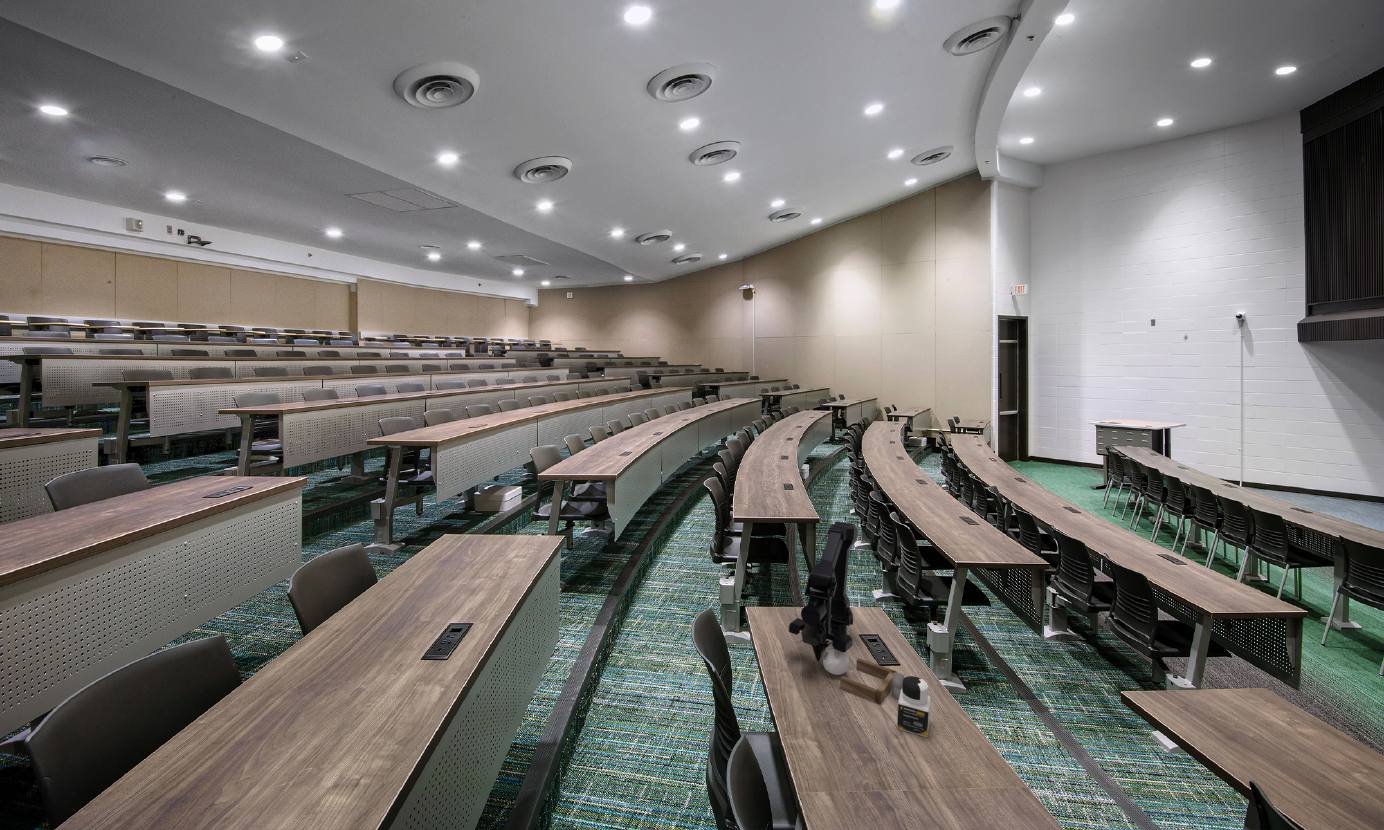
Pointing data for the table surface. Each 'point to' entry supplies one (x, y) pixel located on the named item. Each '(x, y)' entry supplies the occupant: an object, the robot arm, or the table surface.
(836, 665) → the white carved ball
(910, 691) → the medicine bottle
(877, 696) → the carrier cradle
